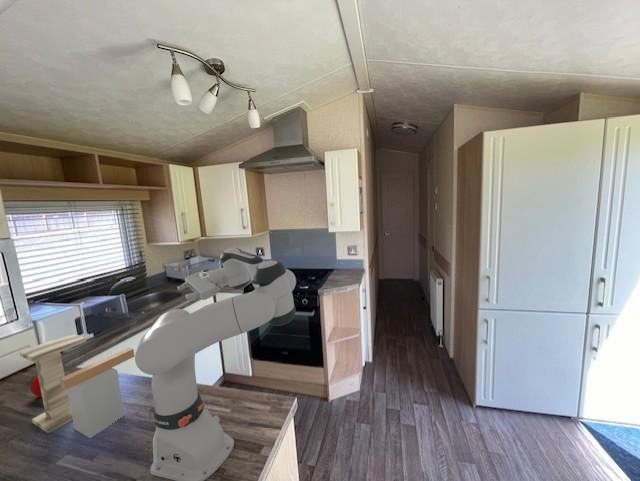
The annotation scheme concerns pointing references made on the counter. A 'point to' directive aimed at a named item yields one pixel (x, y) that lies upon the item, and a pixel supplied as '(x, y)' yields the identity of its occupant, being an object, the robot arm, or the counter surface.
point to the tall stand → (52, 381)
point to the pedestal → (96, 403)
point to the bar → (96, 368)
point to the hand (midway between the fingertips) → (182, 293)
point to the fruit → (36, 387)
